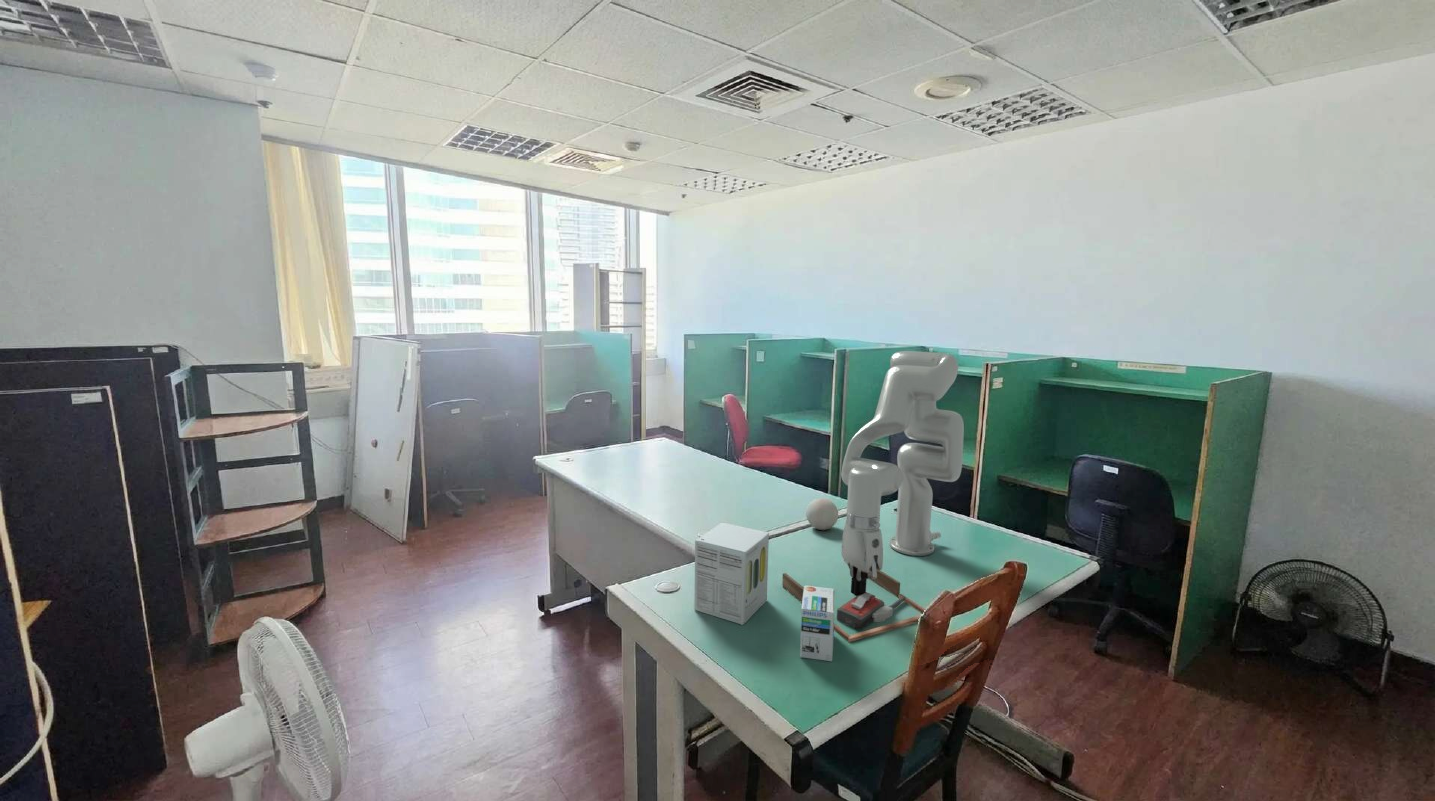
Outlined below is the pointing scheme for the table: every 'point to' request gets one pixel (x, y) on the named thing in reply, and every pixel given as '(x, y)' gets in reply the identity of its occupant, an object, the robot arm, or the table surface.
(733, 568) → the supplement box
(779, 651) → the table surface
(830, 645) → the light bulb box
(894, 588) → the brown wooden frame
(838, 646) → the table surface
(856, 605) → the walkie-talkie
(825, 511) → the eye model
